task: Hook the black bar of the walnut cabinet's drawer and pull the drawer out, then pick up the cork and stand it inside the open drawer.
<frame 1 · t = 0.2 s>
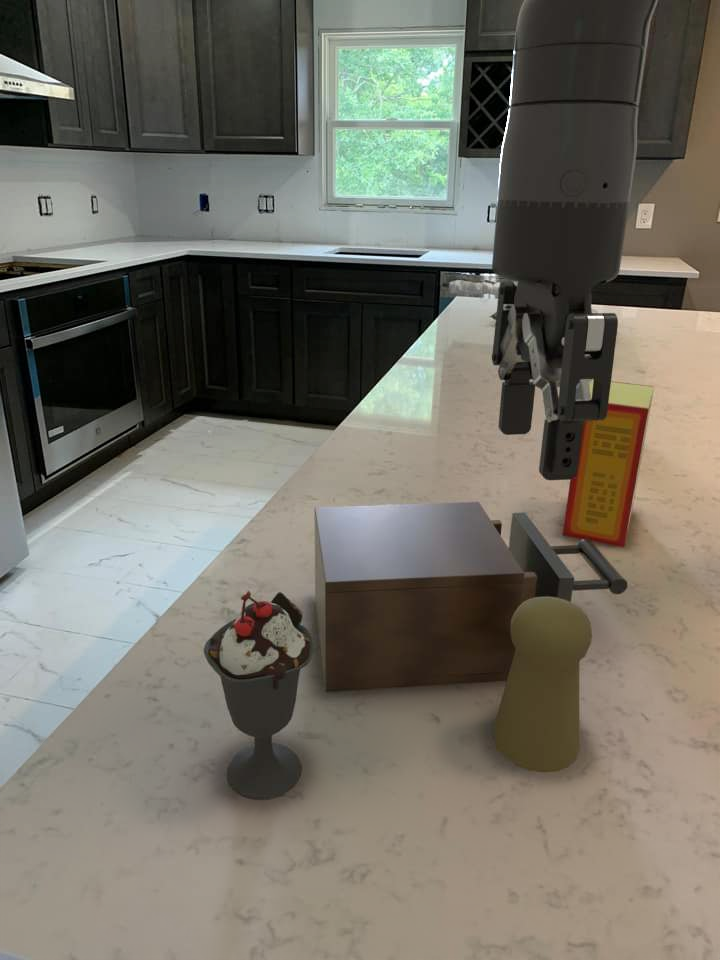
hand: (533, 453, 49), 20 cm above the countertop, tool pointing down, fingers open, 8 cm apart
sundae: (264, 774, 49), on the countertop
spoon: (563, 361, 158), on the countertop
cabinet: (405, 638, 63), on the countertop
cork: (535, 743, 52), on the countertop
frozen beans: (543, 325, 196), on the countertop
baking soda box: (597, 526, 84), on the countertop
blue flat box: (579, 413, 124), on the countertop
drawer: (497, 585, 62), point 5 cm above the countertop, slide at 3.0 cm
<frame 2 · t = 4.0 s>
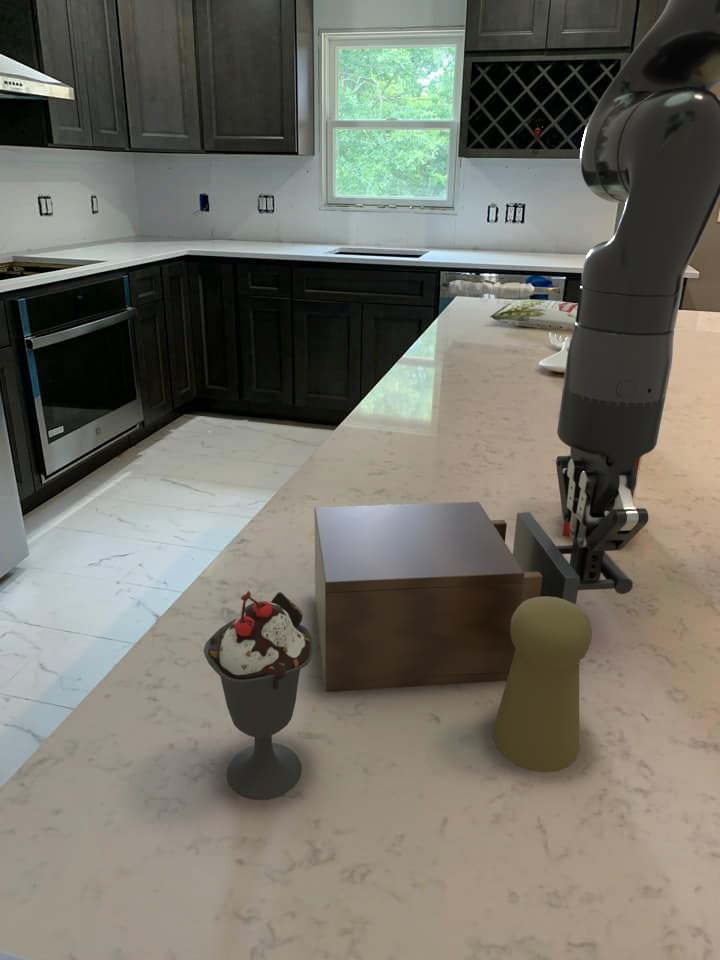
hand: (582, 581, 63), 5 cm above the countertop, tool pointing down, fingers closed
drawer: (502, 585, 62), point 5 cm above the countertop, slide at 3.5 cm, touching gripper
everything else where it was.
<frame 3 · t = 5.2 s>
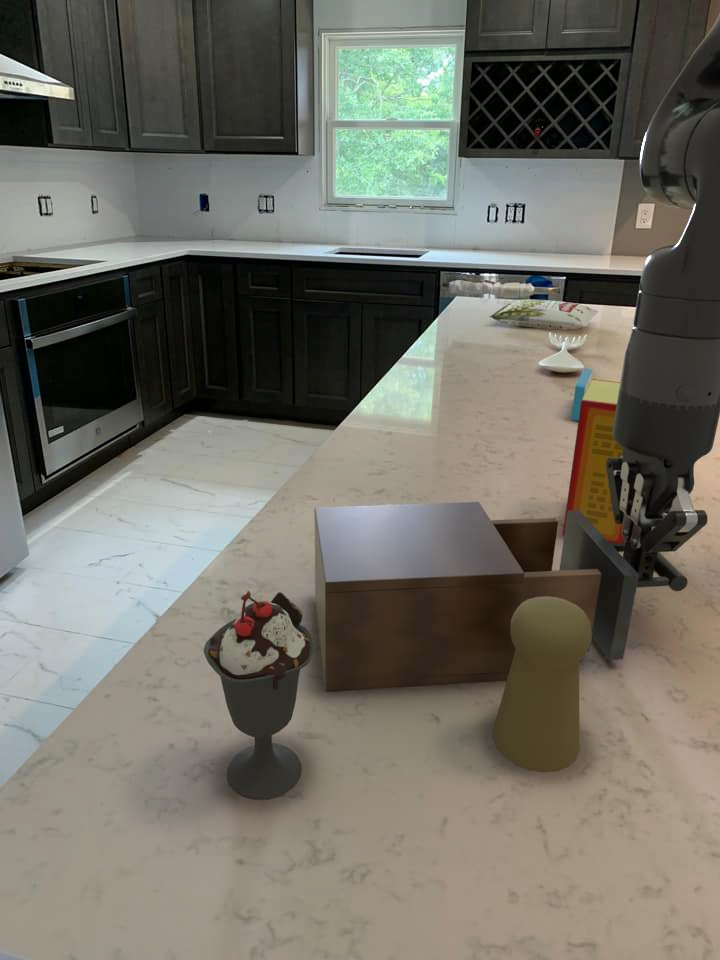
hand: (634, 581, 63), 5 cm above the countertop, tool pointing down, fingers closed
drawer: (556, 582, 62), point 5 cm above the countertop, slide at 8.2 cm, touching gripper
everything else where it was.
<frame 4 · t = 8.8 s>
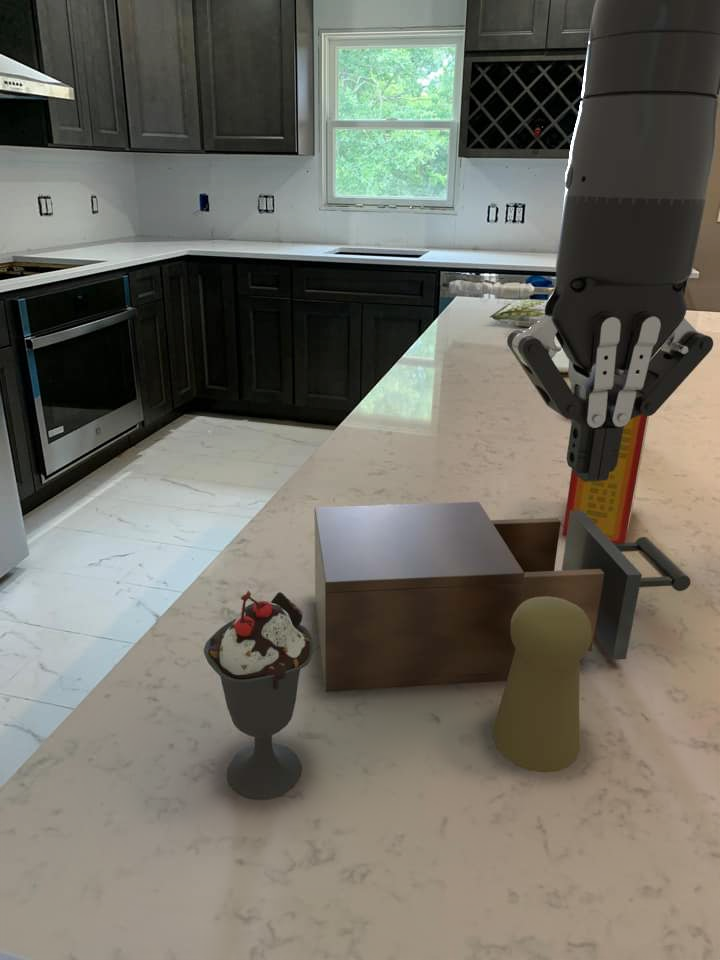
hand: (589, 476, 48), 19 cm above the countertop, tool pointing down, fingers closed
drawer: (559, 582, 62), point 5 cm above the countertop, slide at 8.4 cm
everything else where it was.
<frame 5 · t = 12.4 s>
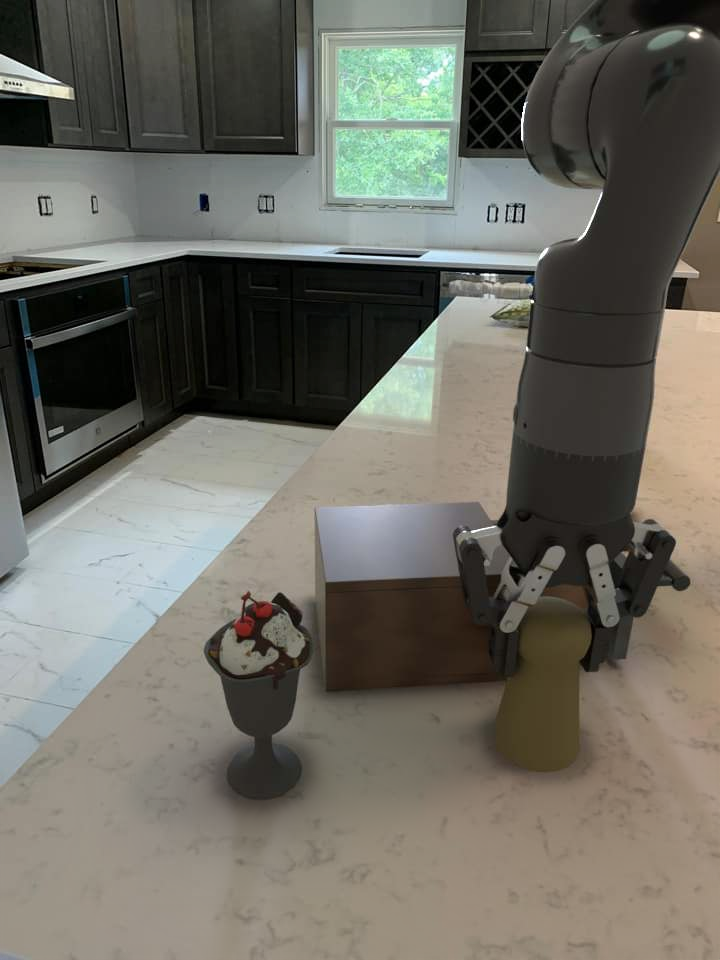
hand: (545, 666, 49), 6 cm above the countertop, tool pointing down, fingers closed on cork, 5 cm apart
cork: (535, 743, 52), on the countertop, touching gripper
everything else where it was.
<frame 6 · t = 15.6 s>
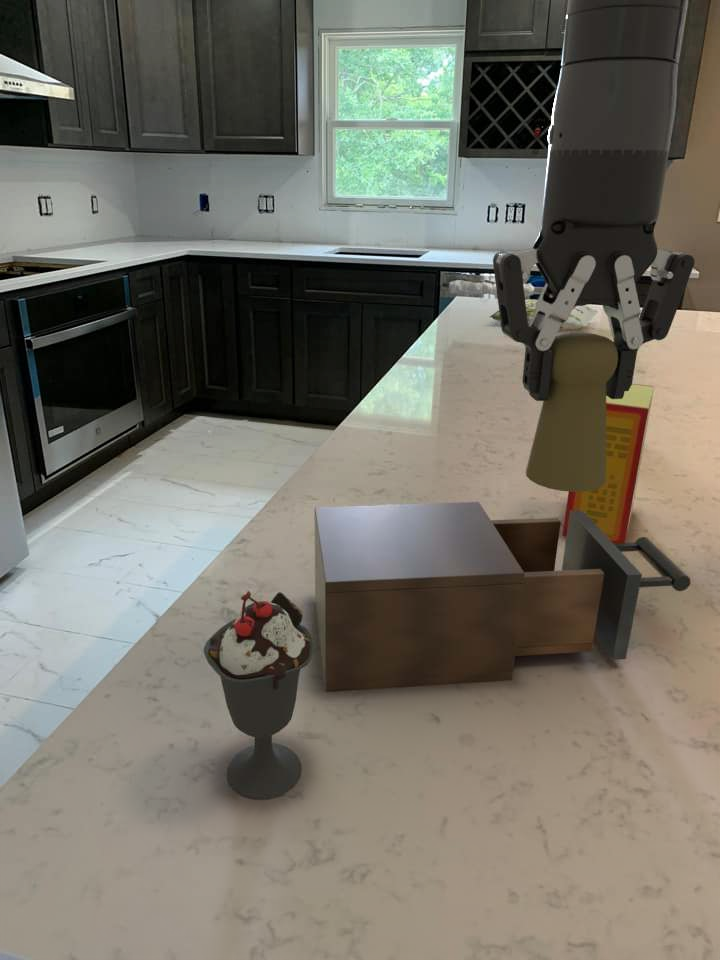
hand: (575, 396, 54), 22 cm above the countertop, tool pointing down, fingers closed on cork, 5 cm apart
cork: (564, 478, 57), point 15 cm above the countertop, touching gripper
everything else where it was.
when the fingers open (9 cm above the countertop, at t = 19.1 s): cork moves 1 cm, resting on drawer.
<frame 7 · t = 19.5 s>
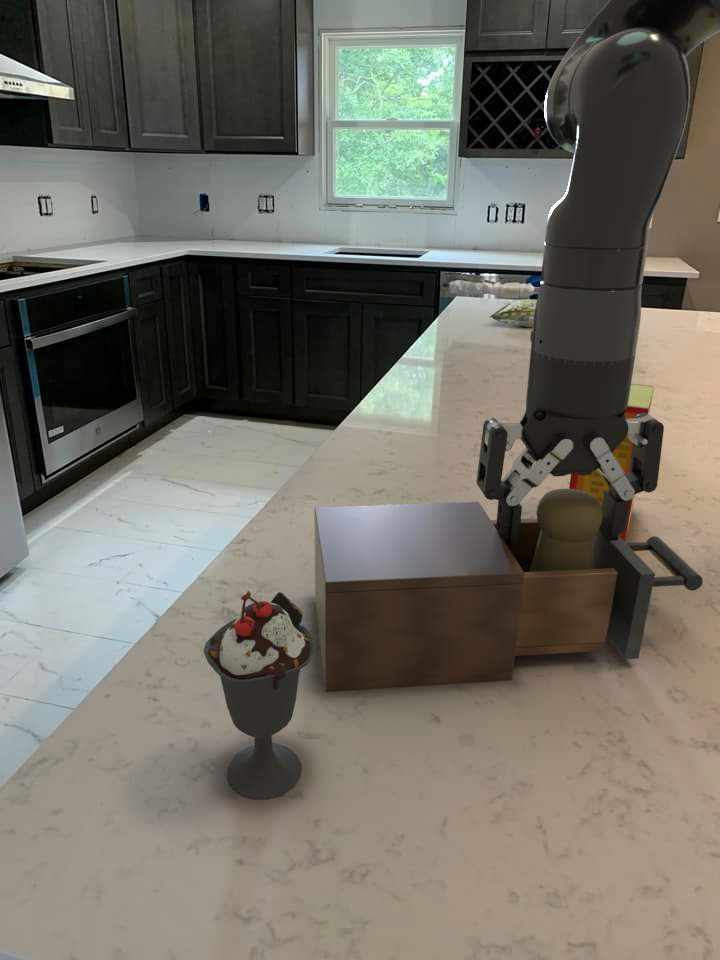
hand: (559, 539, 61), 9 cm above the countertop, tool pointing down, fingers open, 8 cm apart
cork: (555, 612, 63), point 2 cm above the countertop, touching drawer
drawer: (571, 581, 62), point 5 cm above the countertop, slide at 9.5 cm, touching cork
everything else where it was.
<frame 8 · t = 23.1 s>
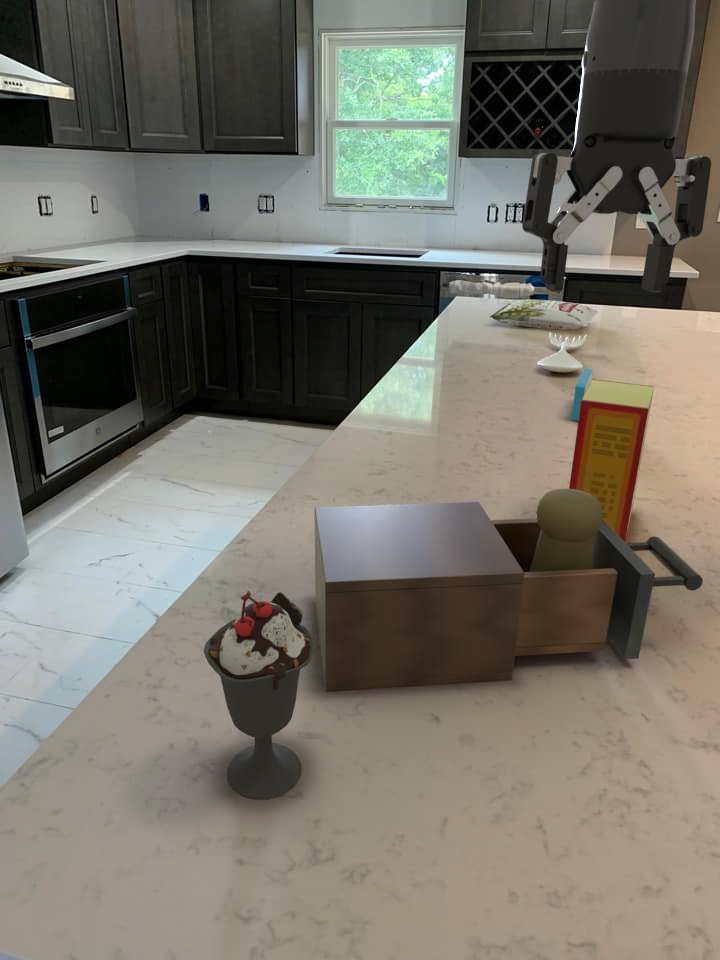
hand: (602, 290, 61), 28 cm above the countertop, tool pointing down, fingers open, 8 cm apart
nothing on the countertop moved.
at the end: drawer slide at 9.5 cm; cork inside the target area in the drawer (3.1 cm from its centre), point 1.9 cm above the cabinet's base; cork tilted 0° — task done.
